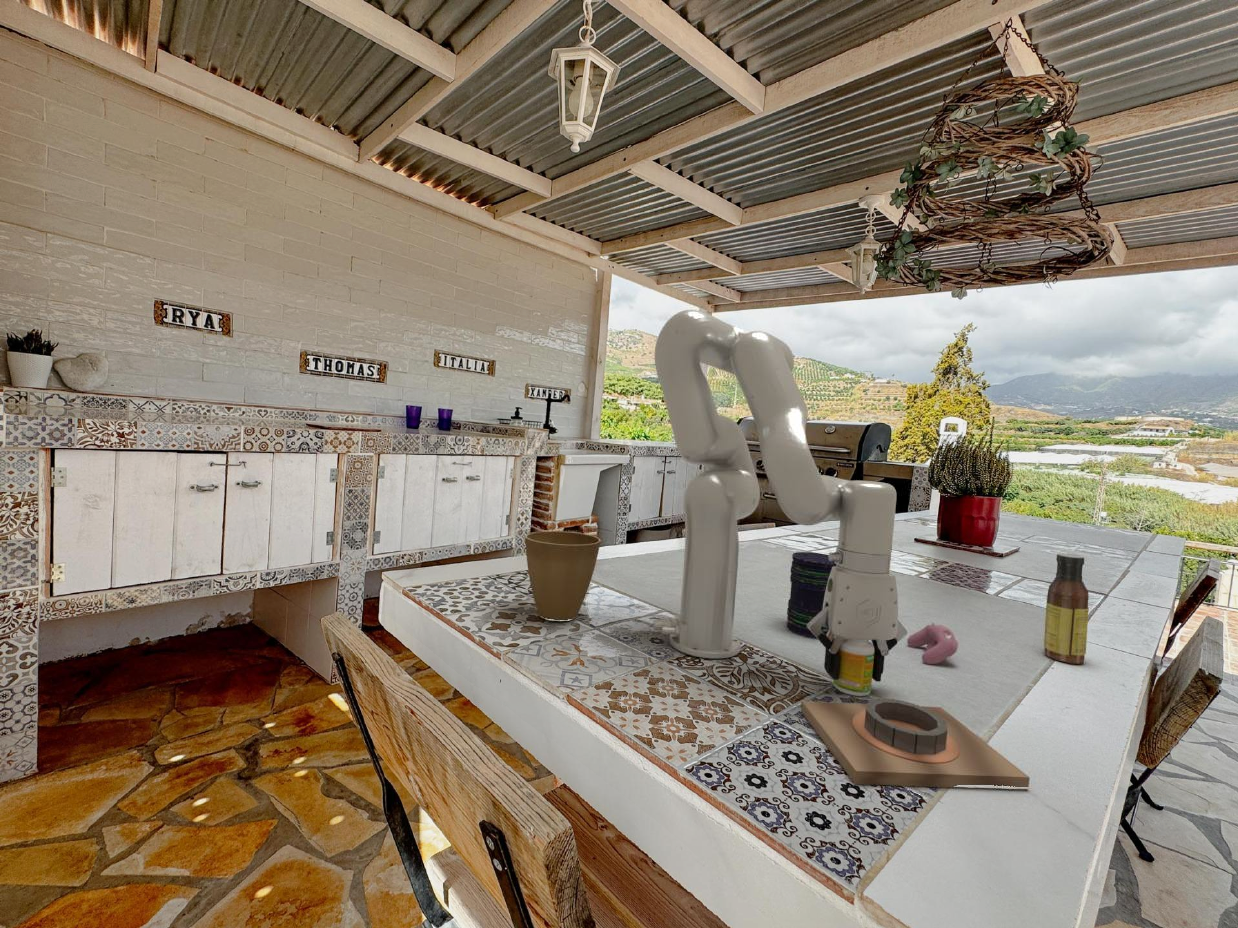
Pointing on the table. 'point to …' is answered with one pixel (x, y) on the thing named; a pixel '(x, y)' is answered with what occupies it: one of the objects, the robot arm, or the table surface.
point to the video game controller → (934, 643)
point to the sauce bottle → (1067, 612)
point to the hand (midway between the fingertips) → (852, 675)
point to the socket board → (905, 770)
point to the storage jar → (807, 590)
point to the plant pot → (560, 571)
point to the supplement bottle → (855, 667)
